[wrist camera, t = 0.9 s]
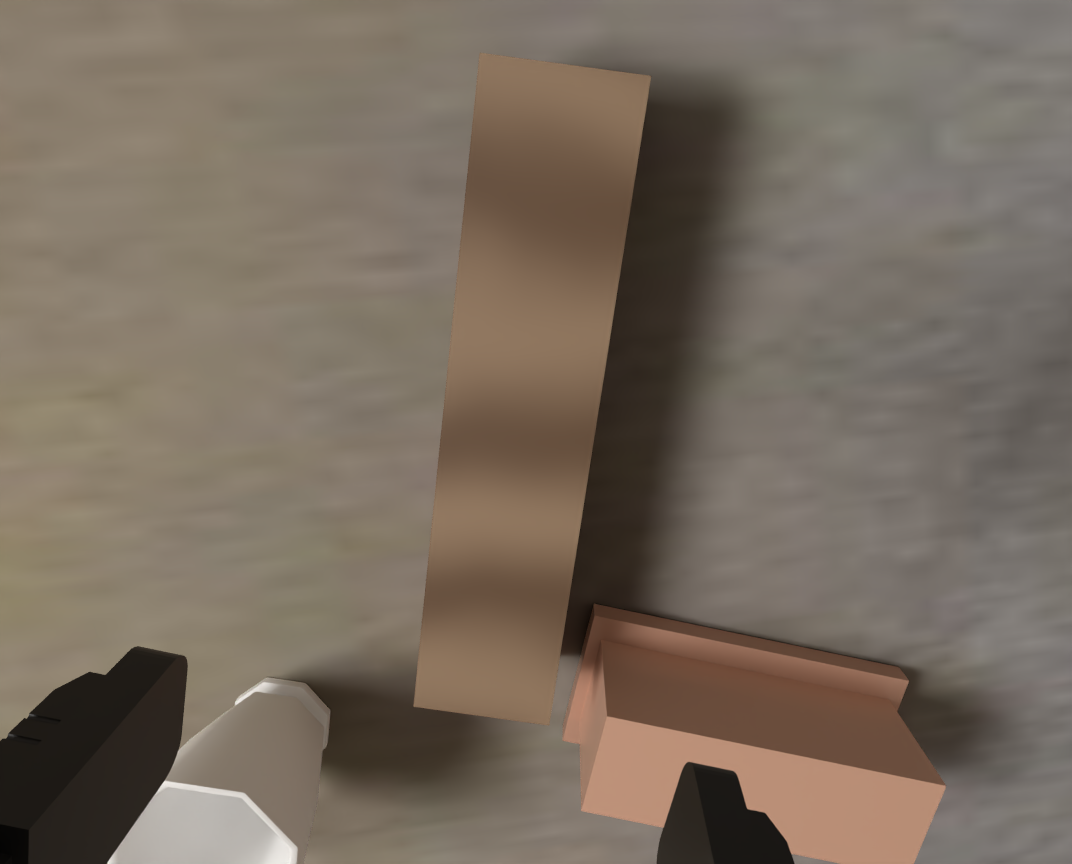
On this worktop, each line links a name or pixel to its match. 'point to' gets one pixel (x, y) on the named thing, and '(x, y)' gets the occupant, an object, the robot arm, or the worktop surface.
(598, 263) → the walnut bar
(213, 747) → the cup
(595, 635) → the ridge
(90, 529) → the worktop surface
